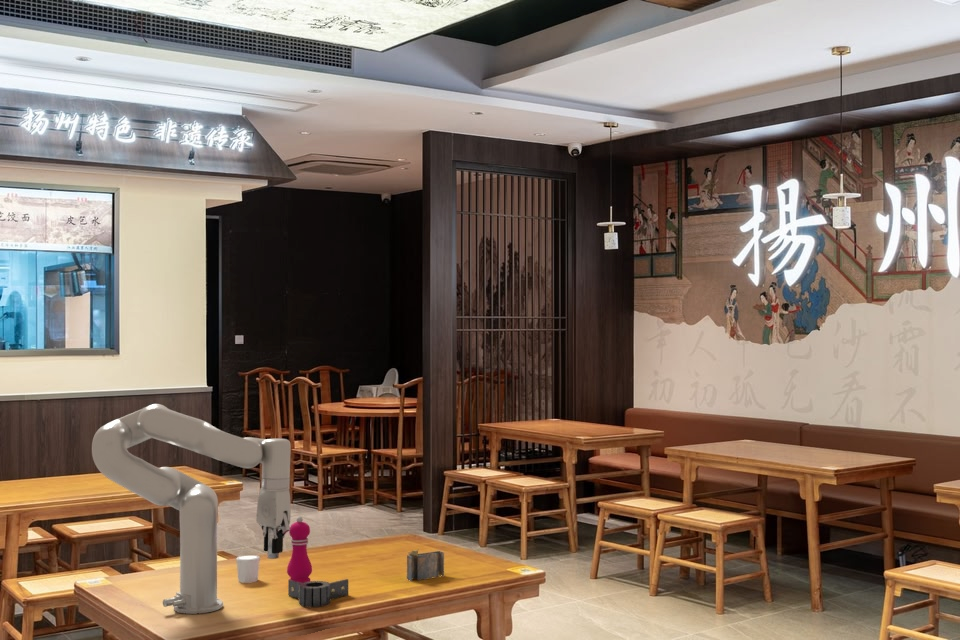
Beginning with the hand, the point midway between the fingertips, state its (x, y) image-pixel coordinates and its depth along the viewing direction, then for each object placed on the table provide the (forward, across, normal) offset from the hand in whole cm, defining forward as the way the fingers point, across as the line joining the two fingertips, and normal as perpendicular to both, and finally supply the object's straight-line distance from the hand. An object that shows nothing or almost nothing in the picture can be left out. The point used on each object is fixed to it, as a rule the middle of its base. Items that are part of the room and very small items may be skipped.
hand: (273, 551), depth 264 cm
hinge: (+14, +5, +12) cm, 19 cm away
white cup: (+15, -26, +10) cm, 32 cm away
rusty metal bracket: (+13, +11, +48) cm, 51 cm away
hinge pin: (+2, 0, 0) cm, 2 cm away
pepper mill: (+14, -10, +17) cm, 24 cm away
